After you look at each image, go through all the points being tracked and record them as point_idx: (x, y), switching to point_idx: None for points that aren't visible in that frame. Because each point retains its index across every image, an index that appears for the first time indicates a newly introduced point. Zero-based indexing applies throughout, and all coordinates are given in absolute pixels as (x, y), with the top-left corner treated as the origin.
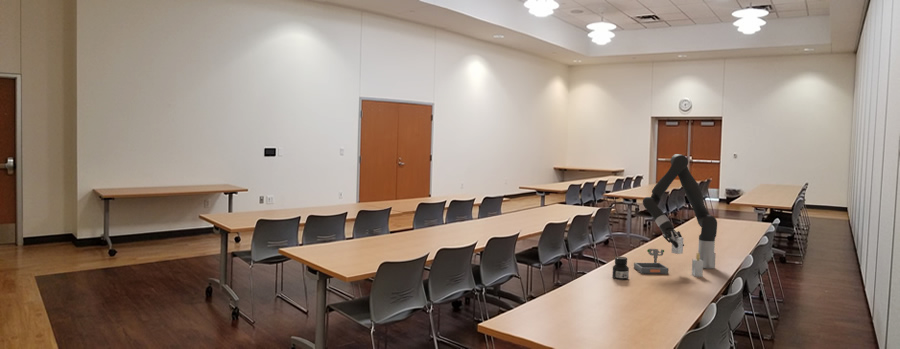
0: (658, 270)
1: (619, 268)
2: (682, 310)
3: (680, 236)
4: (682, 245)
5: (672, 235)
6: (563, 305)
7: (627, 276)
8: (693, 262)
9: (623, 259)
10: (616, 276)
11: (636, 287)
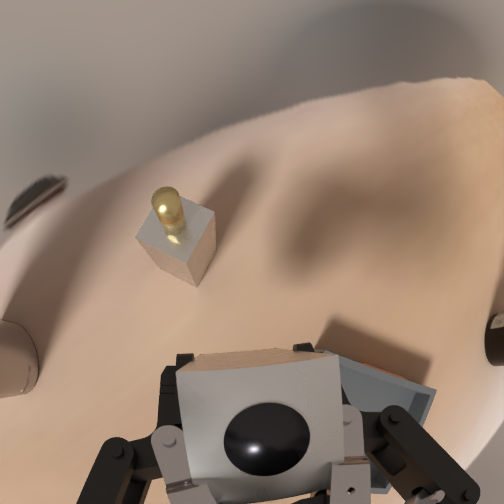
0: (370, 365)
1: None
2: (456, 96)
3: (119, 485)
4: (205, 358)
5: (355, 494)
6: None
7: (499, 314)
8: (199, 250)
9: None
10: None
11: (496, 233)
